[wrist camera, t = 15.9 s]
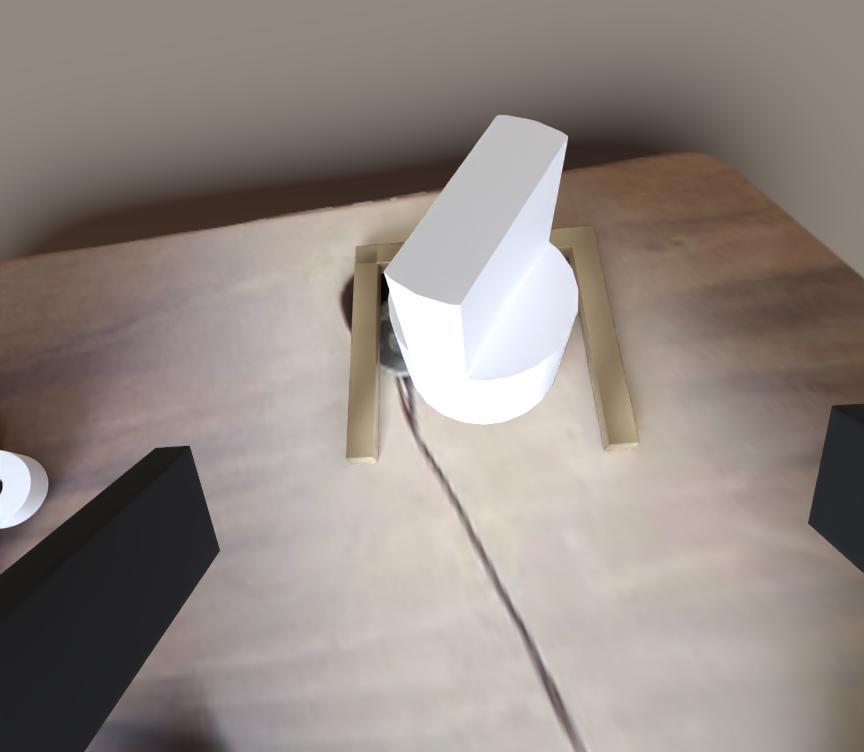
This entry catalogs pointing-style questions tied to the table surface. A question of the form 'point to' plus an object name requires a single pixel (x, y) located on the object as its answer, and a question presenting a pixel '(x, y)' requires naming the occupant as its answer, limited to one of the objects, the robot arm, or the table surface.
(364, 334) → the bay
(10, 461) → the white curved piece
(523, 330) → the base with upright slab
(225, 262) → the table surface
